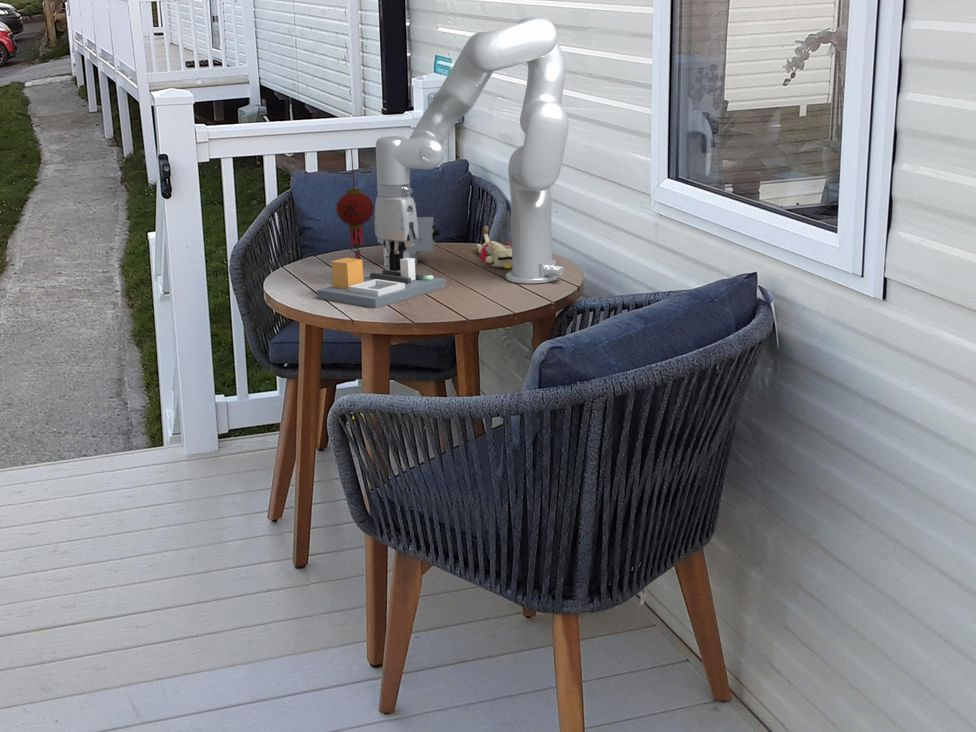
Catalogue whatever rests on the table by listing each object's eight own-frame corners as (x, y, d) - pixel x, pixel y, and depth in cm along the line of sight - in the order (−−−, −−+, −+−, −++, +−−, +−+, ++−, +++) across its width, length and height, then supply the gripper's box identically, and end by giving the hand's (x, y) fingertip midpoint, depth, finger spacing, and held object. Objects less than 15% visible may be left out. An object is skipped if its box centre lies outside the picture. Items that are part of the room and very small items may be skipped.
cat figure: (467, 259, 313) (489, 269, 289) (466, 226, 311) (488, 234, 287) (503, 256, 315) (528, 266, 291) (502, 224, 313) (527, 231, 289)
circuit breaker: (439, 265, 299) (437, 206, 295) (384, 266, 299) (381, 208, 295) (441, 259, 306) (439, 202, 302) (387, 260, 307) (384, 203, 302)
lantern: (371, 271, 293) (364, 151, 285) (335, 271, 295) (327, 151, 286) (381, 264, 302) (375, 146, 294) (346, 263, 304) (339, 147, 295)
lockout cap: (363, 285, 269) (362, 259, 267) (348, 289, 265) (347, 263, 264) (348, 282, 272) (346, 257, 270) (332, 286, 268) (331, 261, 267)
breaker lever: (415, 279, 273) (414, 258, 271) (408, 281, 271) (407, 260, 269) (407, 278, 274) (406, 257, 273) (401, 280, 272) (400, 259, 271)
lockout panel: (445, 287, 274) (445, 273, 273) (375, 308, 256) (374, 293, 255) (389, 278, 285) (388, 266, 284) (317, 298, 266) (317, 284, 266)
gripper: (429, 191, 267) (431, 270, 272) (381, 187, 276) (384, 263, 281) (406, 195, 261) (409, 276, 266) (359, 190, 270) (362, 268, 275)
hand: (396, 269), depth 274 cm, fingers closed
